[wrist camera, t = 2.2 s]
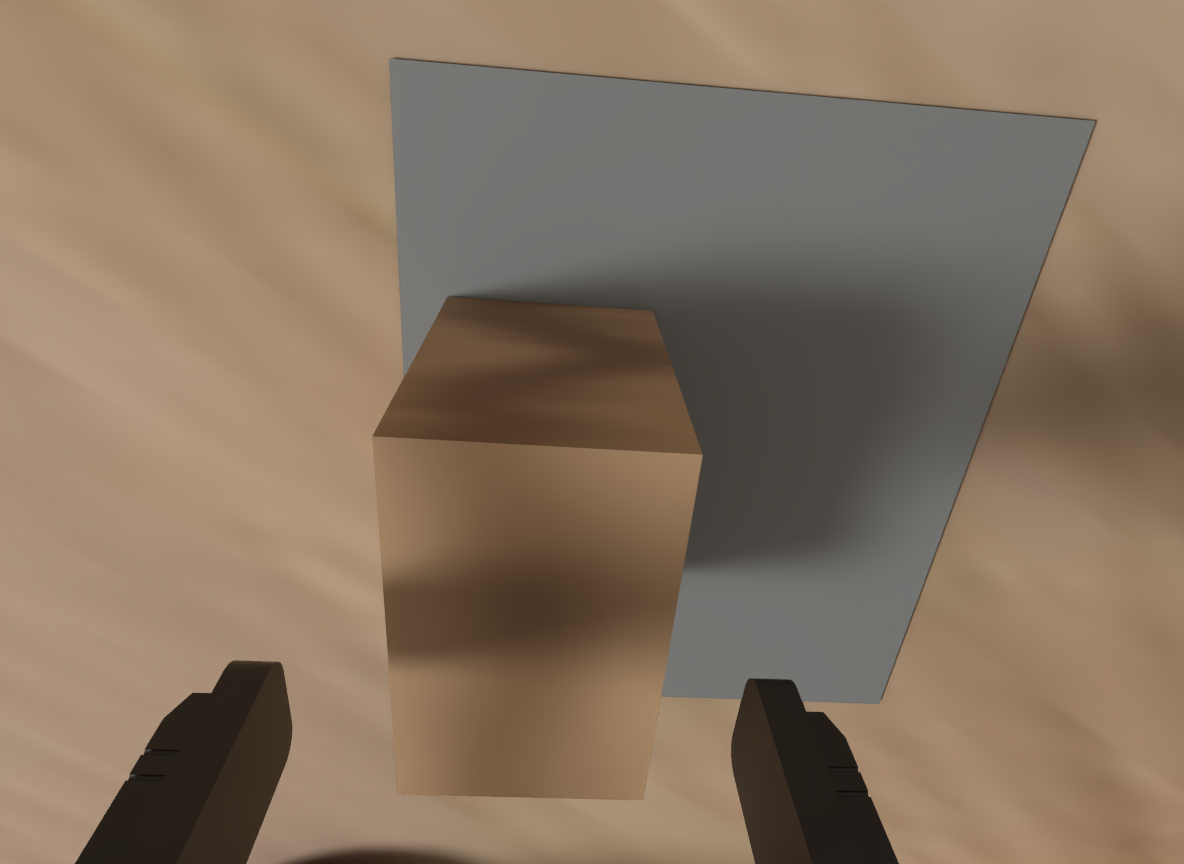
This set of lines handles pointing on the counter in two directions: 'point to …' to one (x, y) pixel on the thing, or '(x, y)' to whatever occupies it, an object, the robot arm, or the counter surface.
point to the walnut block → (532, 548)
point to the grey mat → (757, 317)
